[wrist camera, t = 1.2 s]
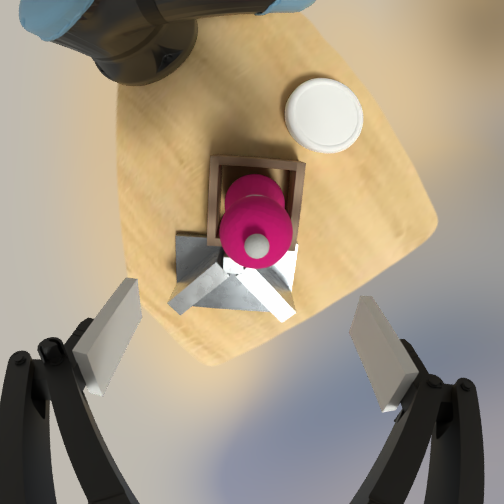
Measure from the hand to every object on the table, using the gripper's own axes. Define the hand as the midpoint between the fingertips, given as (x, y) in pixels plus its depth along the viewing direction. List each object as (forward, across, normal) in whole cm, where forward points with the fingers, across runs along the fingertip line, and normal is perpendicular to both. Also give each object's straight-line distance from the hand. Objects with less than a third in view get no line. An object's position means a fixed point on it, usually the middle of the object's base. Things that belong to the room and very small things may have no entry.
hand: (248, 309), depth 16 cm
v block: (+24, -1, -10) cm, 26 cm away
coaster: (+25, +8, +14) cm, 30 cm away
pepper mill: (+25, 0, +1) cm, 25 cm away
